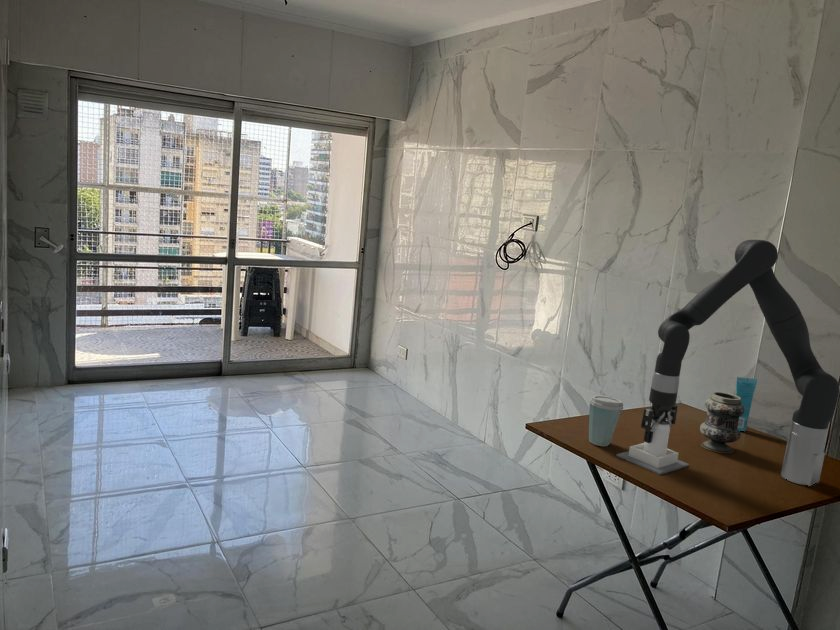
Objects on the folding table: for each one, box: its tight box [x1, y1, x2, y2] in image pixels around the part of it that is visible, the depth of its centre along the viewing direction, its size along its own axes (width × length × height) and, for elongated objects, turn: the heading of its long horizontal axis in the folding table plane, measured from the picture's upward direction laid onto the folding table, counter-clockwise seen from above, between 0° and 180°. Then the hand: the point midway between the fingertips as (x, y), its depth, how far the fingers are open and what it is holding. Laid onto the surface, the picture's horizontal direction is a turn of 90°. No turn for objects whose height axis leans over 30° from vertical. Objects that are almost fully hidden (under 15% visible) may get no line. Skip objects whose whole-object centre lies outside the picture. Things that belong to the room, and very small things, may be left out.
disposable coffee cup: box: [588, 394, 624, 447], centre depth 215 cm, size 11×11×15 cm
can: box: [643, 419, 671, 457], centre depth 204 cm, size 6×6×12 cm
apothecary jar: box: [699, 391, 745, 455], centre depth 220 cm, size 12×12×18 cm
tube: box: [734, 376, 758, 432], centre depth 242 cm, size 7×5×19 cm, turn 99°
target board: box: [616, 442, 690, 476], centre depth 204 cm, size 15×15×4 cm
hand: (655, 440), depth 204 cm, fingers open, 8 cm apart
